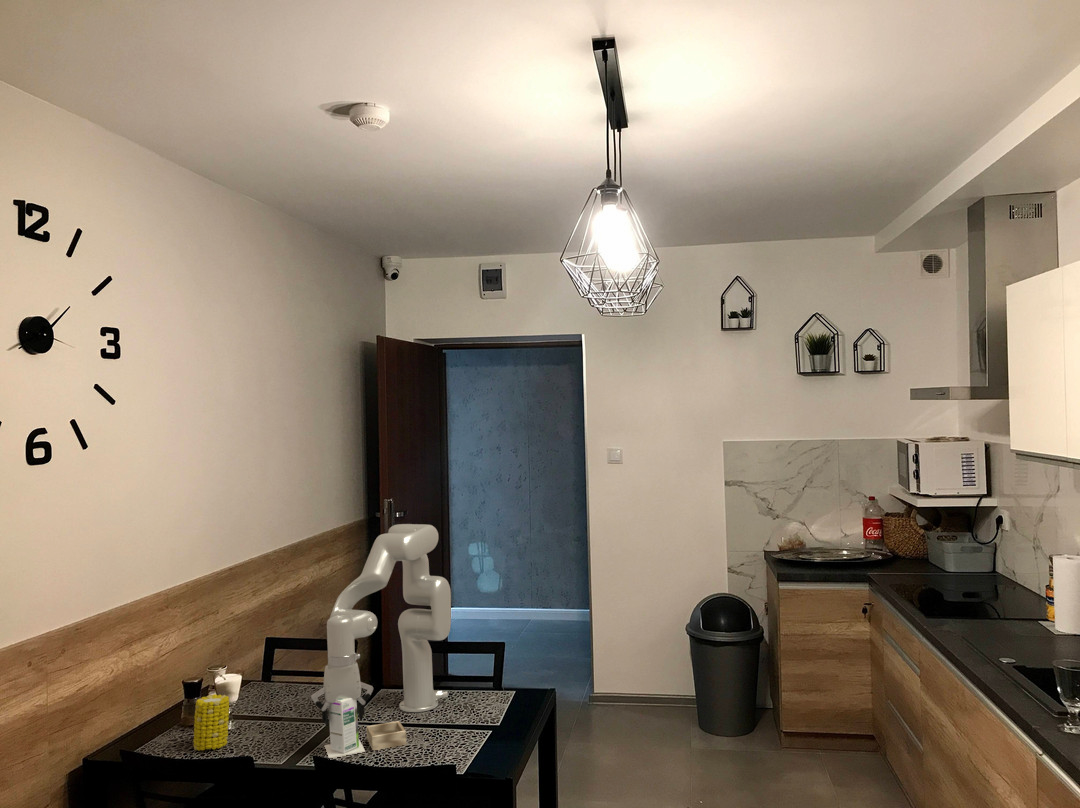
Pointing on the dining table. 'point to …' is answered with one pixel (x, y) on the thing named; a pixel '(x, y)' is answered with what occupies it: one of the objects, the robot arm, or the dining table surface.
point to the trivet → (337, 754)
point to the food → (211, 722)
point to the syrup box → (343, 725)
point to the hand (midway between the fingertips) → (343, 720)
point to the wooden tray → (386, 735)
